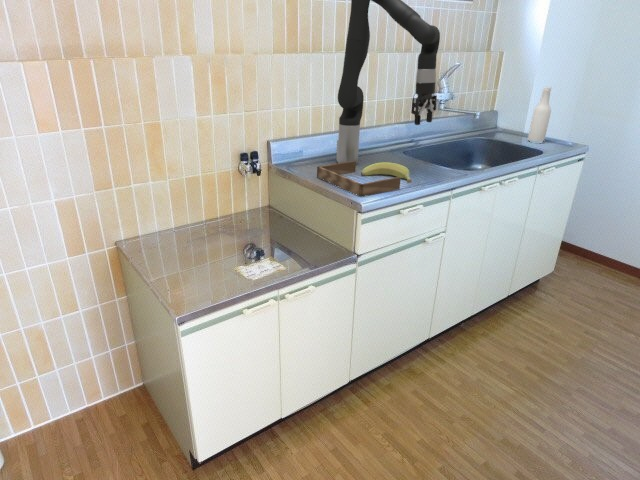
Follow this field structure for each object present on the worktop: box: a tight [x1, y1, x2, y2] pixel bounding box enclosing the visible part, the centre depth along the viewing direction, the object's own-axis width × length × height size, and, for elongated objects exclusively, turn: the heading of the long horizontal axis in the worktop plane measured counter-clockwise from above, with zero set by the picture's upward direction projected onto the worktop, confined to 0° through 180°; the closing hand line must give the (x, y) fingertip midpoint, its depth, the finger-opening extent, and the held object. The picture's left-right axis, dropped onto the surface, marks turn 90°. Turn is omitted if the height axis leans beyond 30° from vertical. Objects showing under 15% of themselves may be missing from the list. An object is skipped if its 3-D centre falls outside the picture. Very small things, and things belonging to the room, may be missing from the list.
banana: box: [360, 161, 412, 183], centre depth 186 cm, size 14×6×20 cm
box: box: [316, 161, 402, 197], centre depth 178 cm, size 28×19×4 cm
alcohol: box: [527, 86, 552, 141], centre depth 255 cm, size 9×9×30 cm
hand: (423, 123), depth 185 cm, fingers open, 8 cm apart
